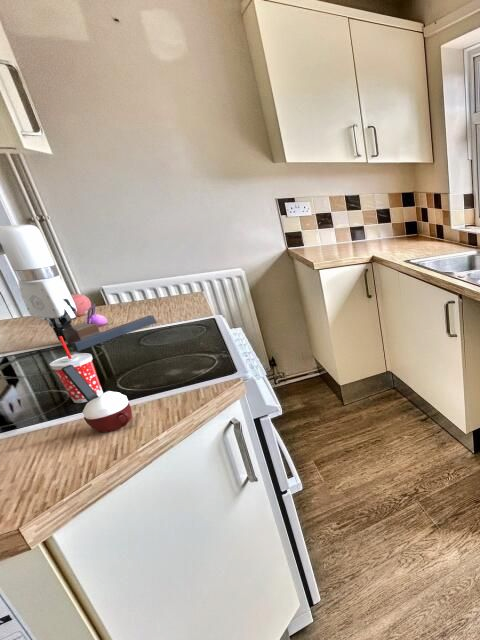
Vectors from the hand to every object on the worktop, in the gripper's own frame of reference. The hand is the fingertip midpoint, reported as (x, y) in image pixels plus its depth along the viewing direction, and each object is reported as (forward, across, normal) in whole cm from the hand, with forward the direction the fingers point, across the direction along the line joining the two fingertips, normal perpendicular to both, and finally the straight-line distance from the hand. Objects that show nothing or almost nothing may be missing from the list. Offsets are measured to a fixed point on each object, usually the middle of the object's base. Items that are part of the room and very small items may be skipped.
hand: (67, 339), depth 116 cm
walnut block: (+1, +6, 0) cm, 6 cm away
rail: (+1, +9, +6) cm, 11 cm away
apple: (+1, -23, +20) cm, 30 cm away
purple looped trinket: (+1, -5, +12) cm, 13 cm away
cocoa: (+1, +55, -33) cm, 64 cm away
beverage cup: (+1, +39, -25) cm, 46 cm away
